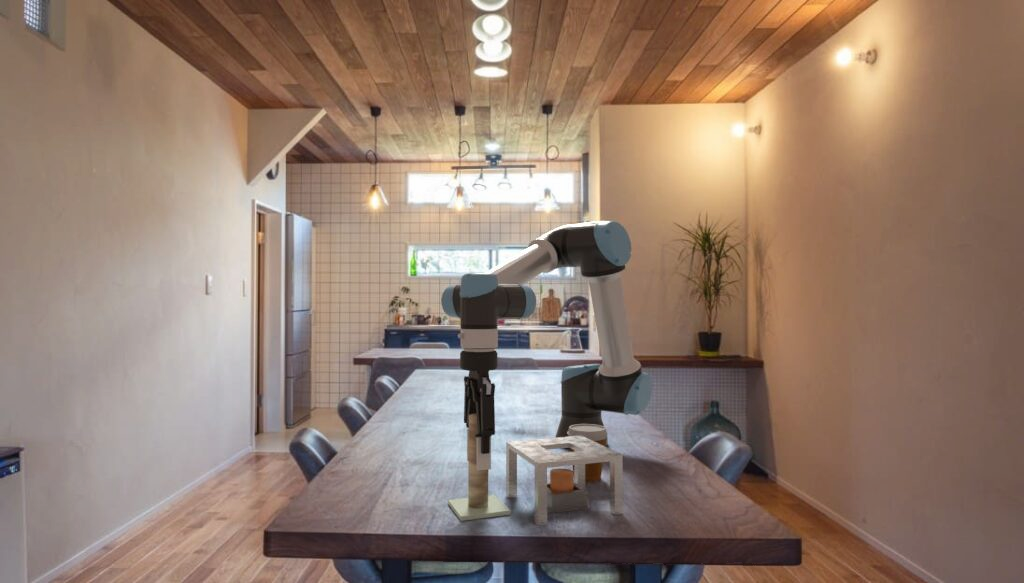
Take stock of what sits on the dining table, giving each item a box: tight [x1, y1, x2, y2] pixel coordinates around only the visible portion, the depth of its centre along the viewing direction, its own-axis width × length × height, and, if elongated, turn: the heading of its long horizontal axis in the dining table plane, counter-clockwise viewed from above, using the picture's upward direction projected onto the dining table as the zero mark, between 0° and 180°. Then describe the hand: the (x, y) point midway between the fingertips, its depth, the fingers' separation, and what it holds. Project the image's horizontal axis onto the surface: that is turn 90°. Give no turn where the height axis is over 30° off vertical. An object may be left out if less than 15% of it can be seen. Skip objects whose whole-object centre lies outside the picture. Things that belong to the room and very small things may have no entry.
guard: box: [505, 435, 624, 526], centre depth 123 cm, size 18×18×12 cm
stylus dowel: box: [467, 413, 489, 509], centre depth 120 cm, size 4×4×18 cm
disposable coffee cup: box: [567, 424, 609, 484], centre depth 140 cm, size 10×10×12 cm
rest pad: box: [447, 494, 511, 522], centre depth 120 cm, size 10×10×1 cm
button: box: [549, 467, 574, 493], centre depth 123 cm, size 5×5×6 cm
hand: (478, 464), depth 120 cm, fingers open, 6 cm apart
